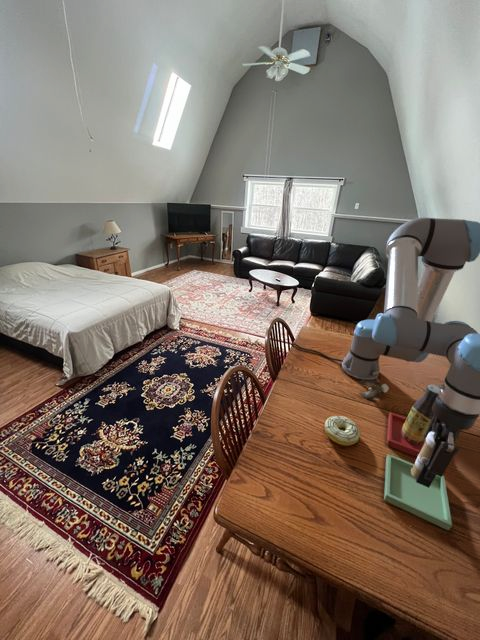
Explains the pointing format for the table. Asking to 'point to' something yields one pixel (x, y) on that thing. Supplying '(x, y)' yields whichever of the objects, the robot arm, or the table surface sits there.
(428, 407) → the sauce bottle
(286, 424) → the table surface
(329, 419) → the decorated donut
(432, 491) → the green tray
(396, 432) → the red tray
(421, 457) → the sprinkles bottle
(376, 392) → the eagle figurine
